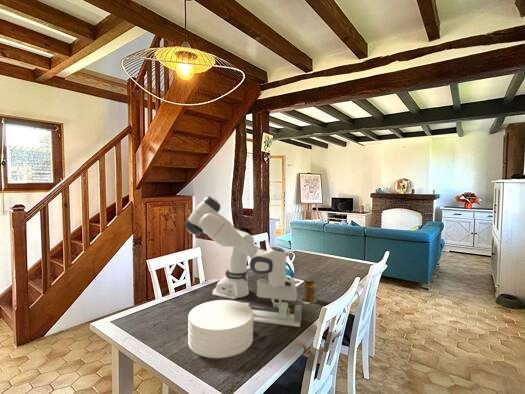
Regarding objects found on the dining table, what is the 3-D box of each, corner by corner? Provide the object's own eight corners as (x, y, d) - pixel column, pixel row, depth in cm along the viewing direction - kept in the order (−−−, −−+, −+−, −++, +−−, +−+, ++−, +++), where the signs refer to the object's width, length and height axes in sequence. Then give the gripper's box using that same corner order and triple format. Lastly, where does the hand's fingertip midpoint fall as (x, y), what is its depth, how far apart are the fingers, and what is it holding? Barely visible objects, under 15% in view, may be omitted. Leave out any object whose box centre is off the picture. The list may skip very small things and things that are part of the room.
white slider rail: (239, 319, 141) (239, 305, 141) (245, 310, 151) (245, 297, 151) (299, 326, 135) (300, 312, 135) (301, 317, 145) (301, 303, 145)
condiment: (317, 301, 165) (317, 281, 165) (306, 304, 161) (307, 283, 160) (308, 296, 171) (309, 277, 171) (298, 299, 167) (298, 279, 166)
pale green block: (278, 318, 140) (278, 305, 140) (279, 314, 144) (280, 302, 144) (286, 319, 139) (286, 306, 139) (287, 315, 144) (288, 302, 143)
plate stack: (217, 368, 104) (217, 338, 104) (175, 339, 123) (175, 314, 122) (265, 337, 126) (266, 312, 125) (223, 317, 144) (223, 295, 143)
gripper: (255, 280, 141) (254, 307, 141) (296, 283, 136) (295, 312, 137) (258, 276, 147) (257, 302, 147) (297, 279, 142) (297, 306, 143)
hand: (276, 306), depth 142 cm, fingers closed
